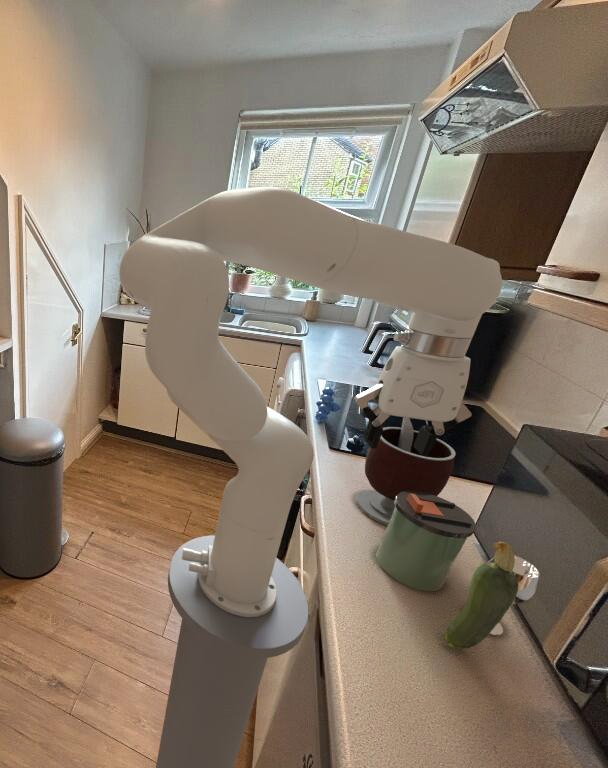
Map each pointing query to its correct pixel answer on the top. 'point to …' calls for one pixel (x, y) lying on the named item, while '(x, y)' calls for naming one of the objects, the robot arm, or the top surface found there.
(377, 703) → the top surface
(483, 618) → the vegetable
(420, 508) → the shutter
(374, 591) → the top surface
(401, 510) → the travel mug
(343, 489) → the top surface
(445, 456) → the mate gourd
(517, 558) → the wineglass
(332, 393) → the grapes
